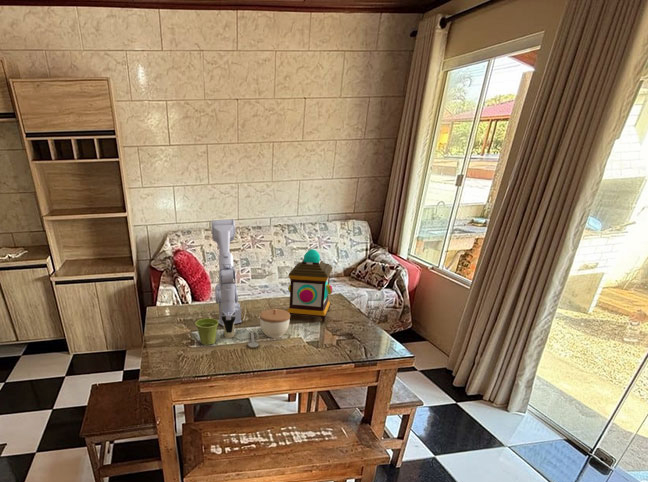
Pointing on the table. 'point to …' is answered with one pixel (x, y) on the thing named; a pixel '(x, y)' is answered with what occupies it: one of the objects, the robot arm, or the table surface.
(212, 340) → the plant pot
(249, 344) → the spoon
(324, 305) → the decorative lantern
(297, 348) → the table surface
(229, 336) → the shaker
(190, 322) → the table surface
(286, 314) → the lidded bowl
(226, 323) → the robot arm
